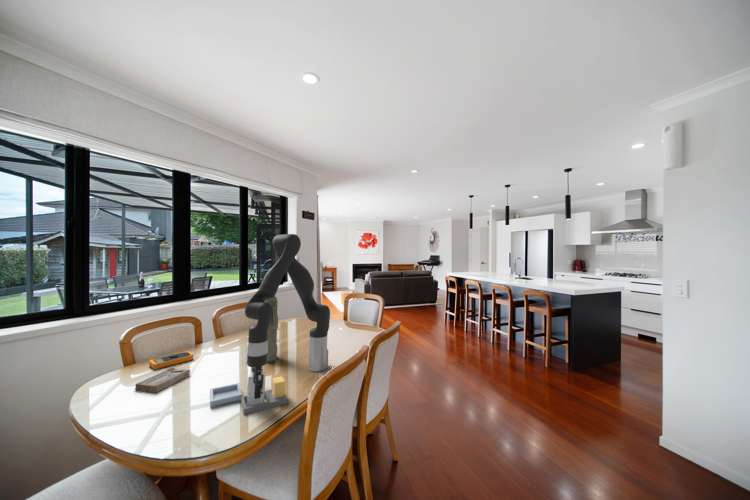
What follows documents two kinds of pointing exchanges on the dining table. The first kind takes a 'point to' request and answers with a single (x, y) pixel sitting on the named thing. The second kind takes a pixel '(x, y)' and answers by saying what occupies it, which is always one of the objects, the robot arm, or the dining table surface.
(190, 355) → the multimeter
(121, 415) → the dining table surface
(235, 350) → the dining table surface
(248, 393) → the skincare box
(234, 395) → the tray
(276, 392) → the block
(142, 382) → the box
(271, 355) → the thermos
